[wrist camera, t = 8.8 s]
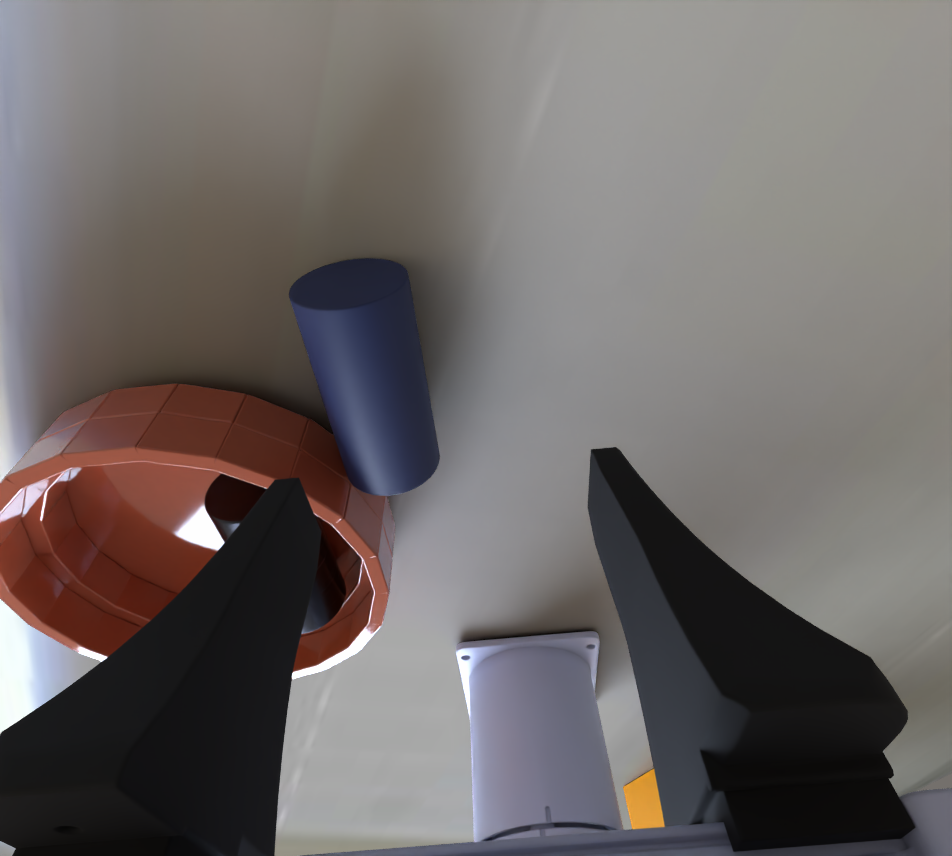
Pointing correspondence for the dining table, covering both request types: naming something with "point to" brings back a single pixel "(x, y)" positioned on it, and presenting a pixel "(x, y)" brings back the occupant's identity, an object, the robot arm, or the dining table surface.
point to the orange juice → (644, 802)
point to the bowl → (172, 514)
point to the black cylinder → (237, 498)
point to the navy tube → (369, 371)
